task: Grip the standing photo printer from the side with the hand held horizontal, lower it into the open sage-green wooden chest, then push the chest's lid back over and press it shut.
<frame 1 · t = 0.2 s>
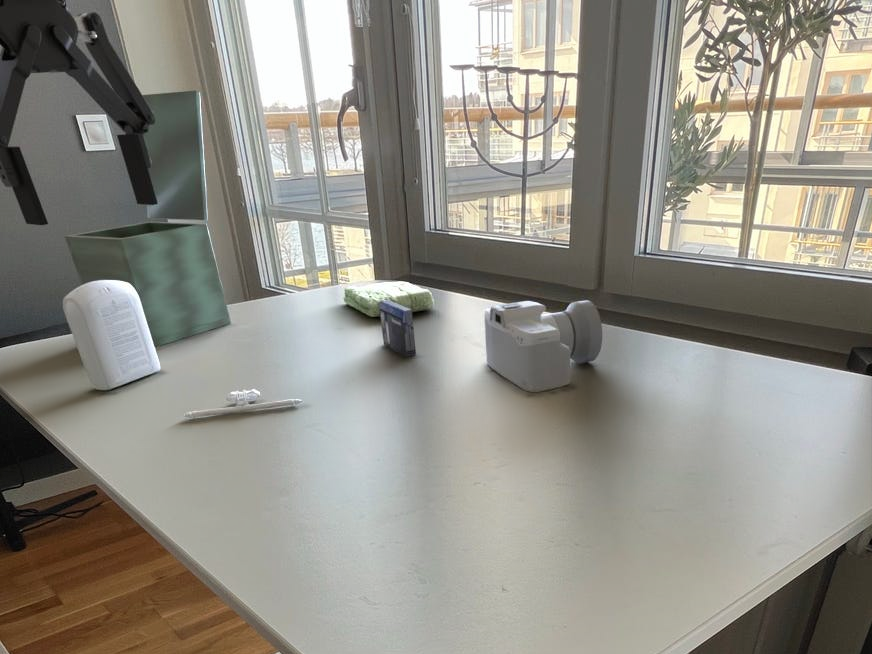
hand: (95, 214, 76), 21 cm above the table, tool pointing down, fingers open, 13 cm apart
washcloth: (388, 307, 126), on the table
picture light: (244, 408, 86), on the table
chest: (167, 330, 118), on the table
digital camera: (547, 373, 91), on the table
chest lid: (172, 158, 111), point 24 cm above the table, hinge at 105.0°
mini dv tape: (399, 350, 103), on the table
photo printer: (129, 381, 97), on the table
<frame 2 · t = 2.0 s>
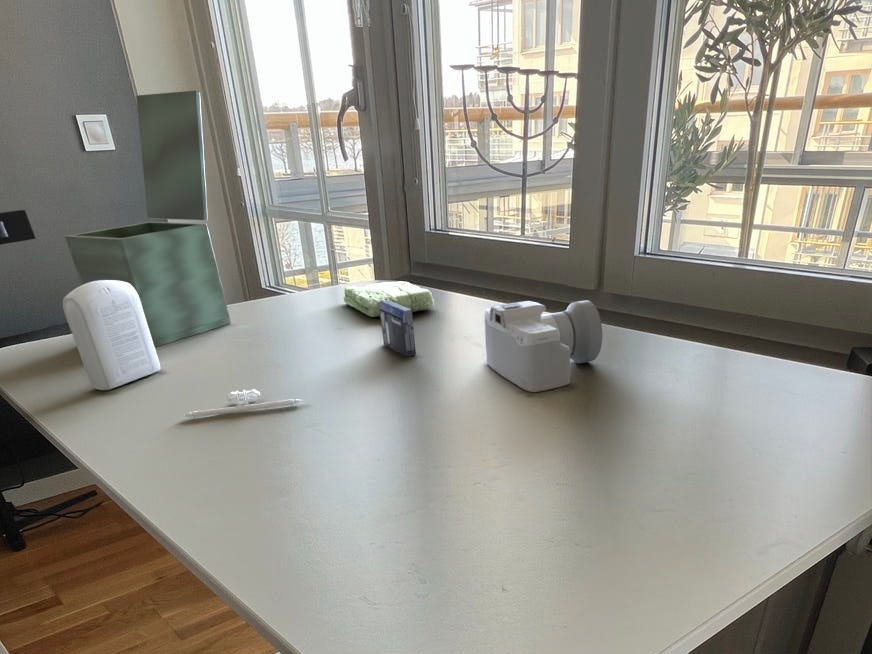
nothing on the table moved.
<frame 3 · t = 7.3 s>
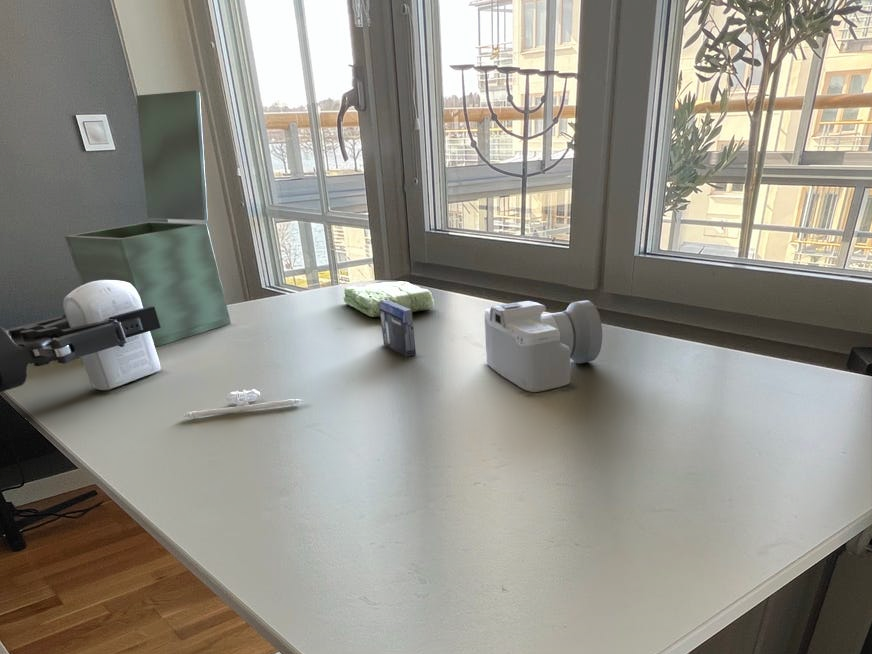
hand: (142, 315, 96), 7 cm above the table, tool horizontal, fingers closed on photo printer, 5 cm apart
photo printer: (129, 381, 97), on the table, touching gripper
everything else where it was.
when the fingers open (17 cm above the table, at t = 16.7 s): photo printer drops 9 cm, resting on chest.
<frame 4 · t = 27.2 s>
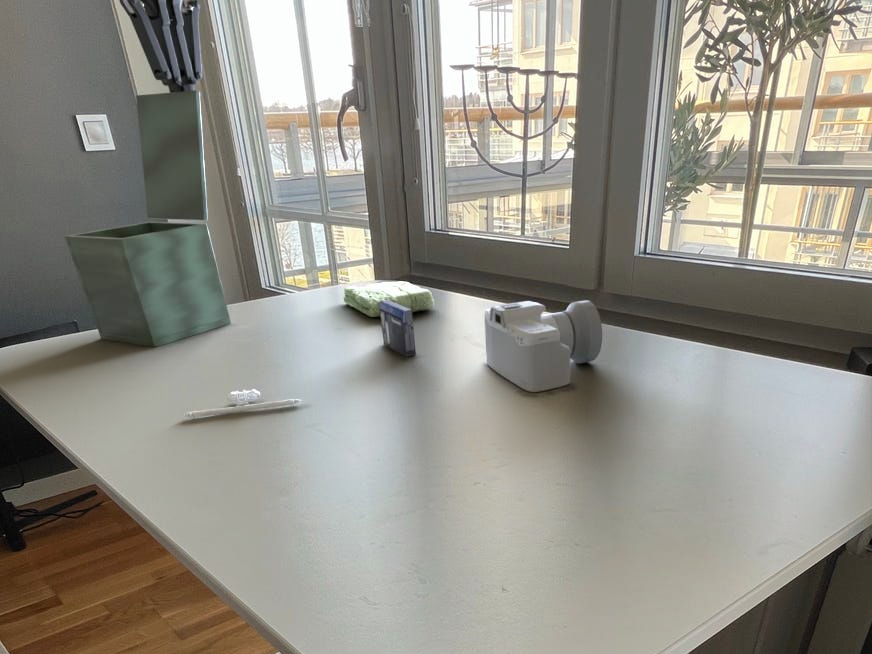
hand: (193, 136, 113), 26 cm above the table, tool pointing down, fingers closed
chest lid: (172, 158, 111), point 24 cm above the table, hinge at 104.9°, touching gripper
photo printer: (167, 325, 118), point 1 cm above the table, touching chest
everything else where it was.
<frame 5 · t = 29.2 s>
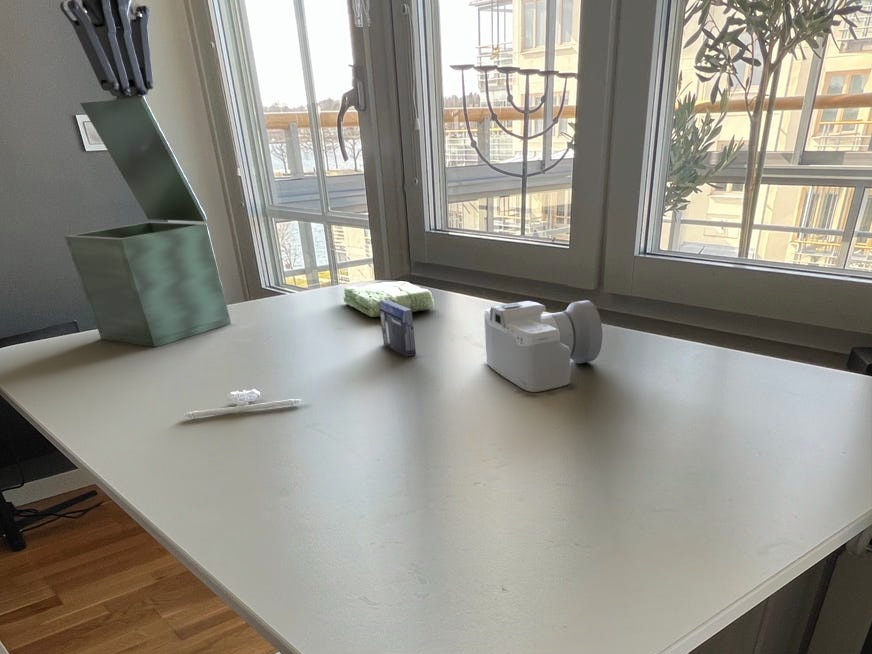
hand: (145, 149, 107), 25 cm above the table, tool pointing down, fingers closed
chest lid: (145, 163, 108), point 23 cm above the table, hinge at 69.4°, touching gripper
everything else where it was.
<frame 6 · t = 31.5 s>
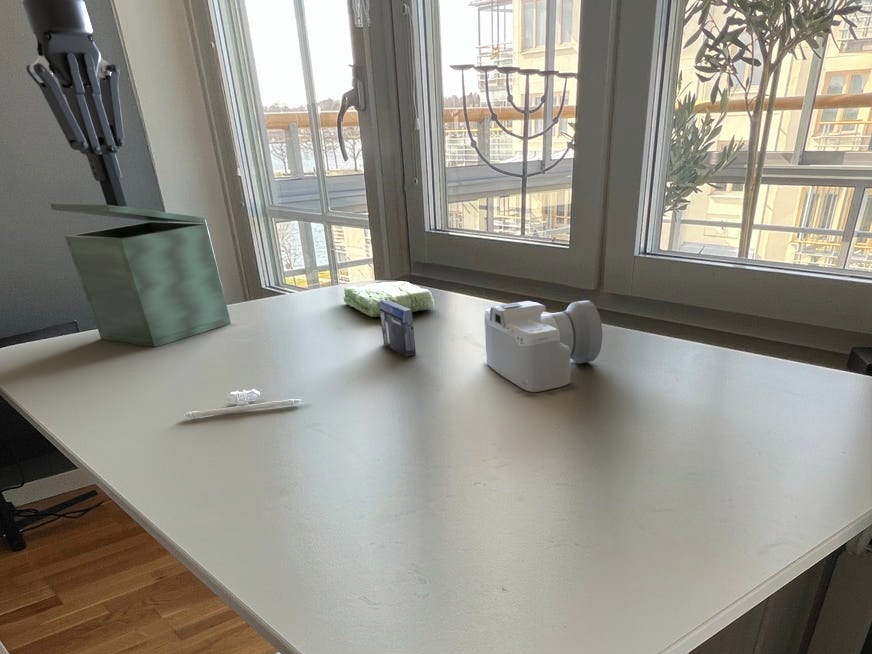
hand: (117, 205, 106), 18 cm above the table, tool pointing down, fingers closed
chest lid: (130, 213, 108), point 17 cm above the table, hinge at 11.9°
everything else where it was.
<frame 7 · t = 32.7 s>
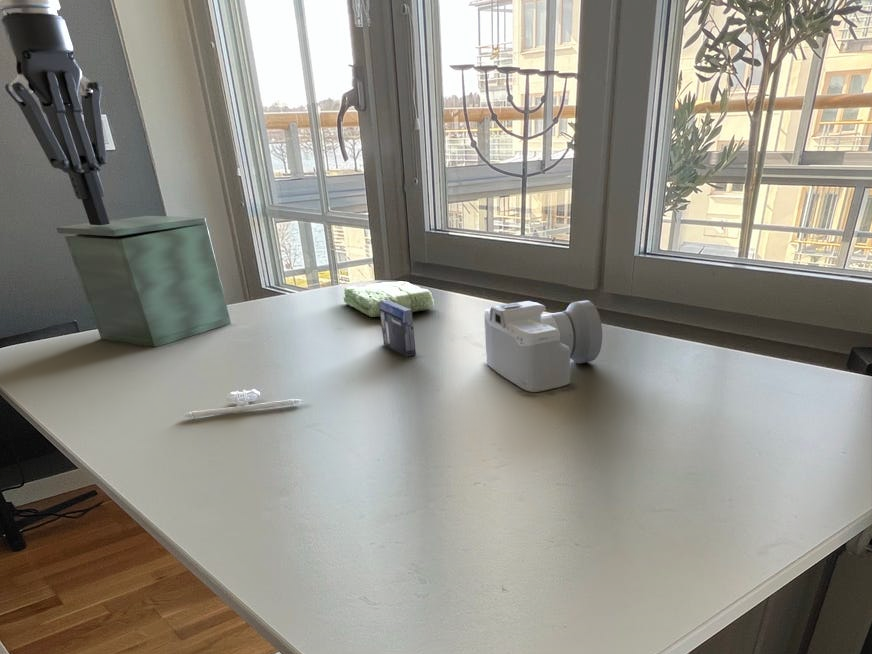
hand: (99, 224, 104), 16 cm above the table, tool pointing down, fingers closed
chest lid: (133, 225, 109), point 16 cm above the table, hinge at 1.5°, touching gripper
everything else where it was.
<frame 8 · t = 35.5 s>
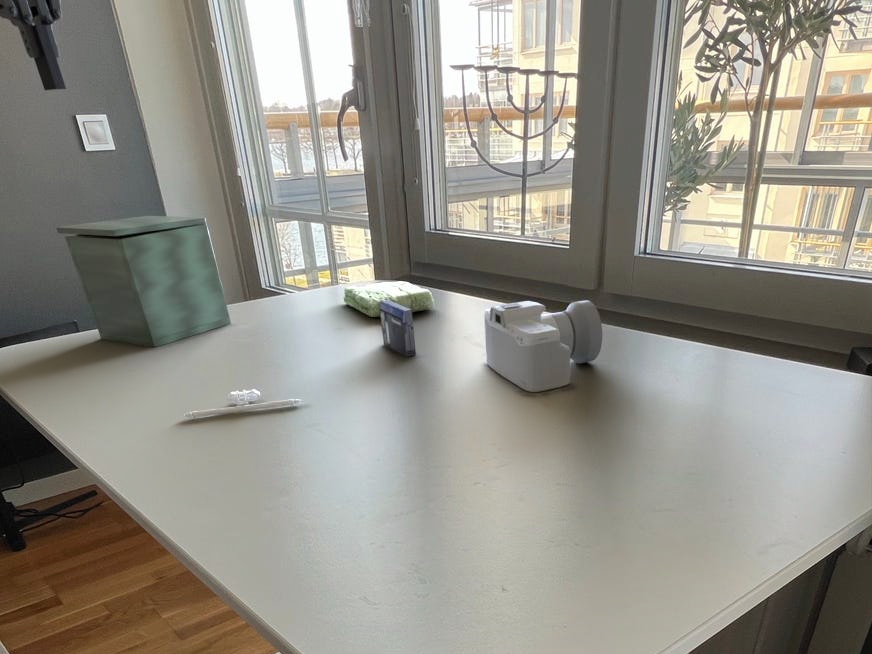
hand: (55, 89, 95), 32 cm above the table, tool pointing down, fingers closed
chest lid: (133, 225, 109), point 16 cm above the table, hinge at 1.5°
everything else where it was.
at the end: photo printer inside the target area in the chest (0.3 cm from its centre), point 0.8 cm above the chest's base; chest lid at +2° (first picture: +105°) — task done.
